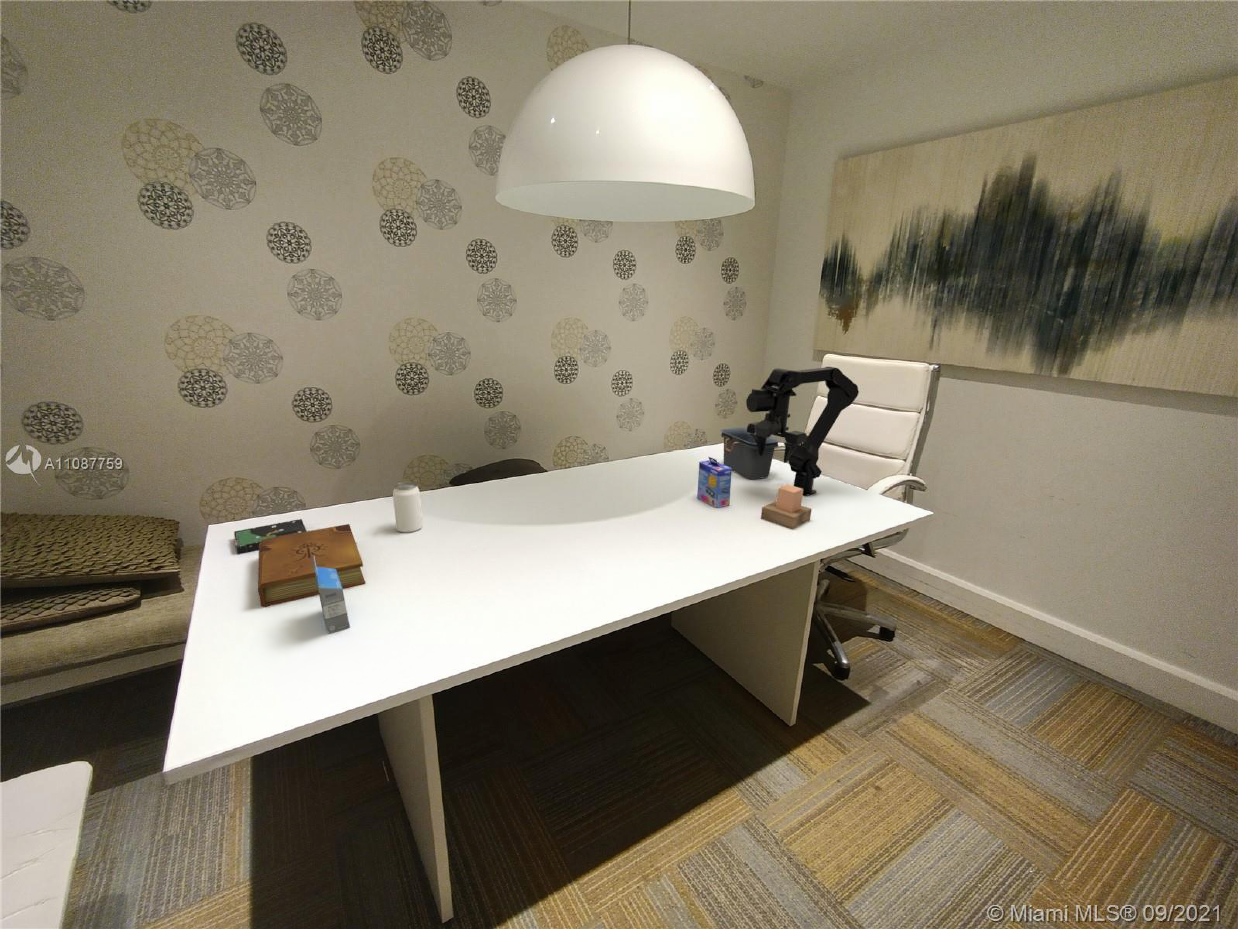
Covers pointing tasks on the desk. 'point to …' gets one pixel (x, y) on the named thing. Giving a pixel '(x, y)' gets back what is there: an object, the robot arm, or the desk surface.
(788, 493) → the terracotta box
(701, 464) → the ink cartridge box
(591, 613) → the desk surface
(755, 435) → the robot arm
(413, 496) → the can
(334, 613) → the label tape box
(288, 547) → the diary
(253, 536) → the disk drive
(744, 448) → the storage bin
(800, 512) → the walnut block
